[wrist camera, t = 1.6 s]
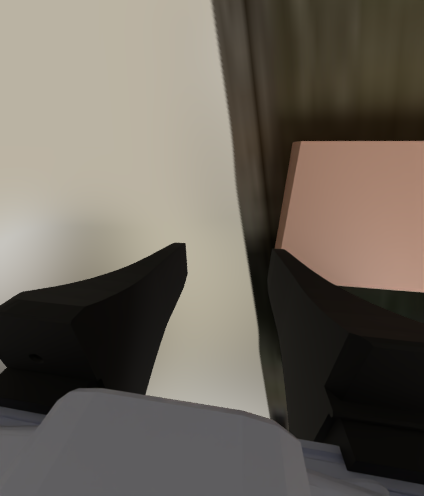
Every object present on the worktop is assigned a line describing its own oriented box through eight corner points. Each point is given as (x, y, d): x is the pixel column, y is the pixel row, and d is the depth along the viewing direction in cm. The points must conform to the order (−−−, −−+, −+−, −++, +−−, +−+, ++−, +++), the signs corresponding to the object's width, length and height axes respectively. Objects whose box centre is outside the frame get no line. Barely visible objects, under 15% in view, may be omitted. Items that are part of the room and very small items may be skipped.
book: (420, 274, 20) (448, 294, 17) (271, 264, 22) (275, 280, 19) (500, 142, 14) (558, 140, 12) (291, 142, 16) (301, 141, 14)
